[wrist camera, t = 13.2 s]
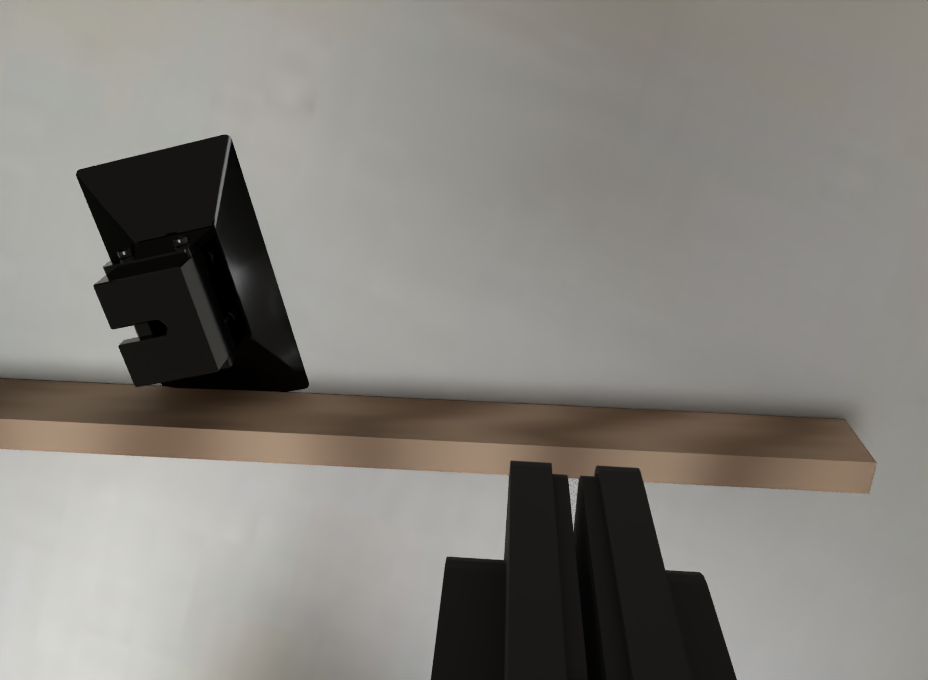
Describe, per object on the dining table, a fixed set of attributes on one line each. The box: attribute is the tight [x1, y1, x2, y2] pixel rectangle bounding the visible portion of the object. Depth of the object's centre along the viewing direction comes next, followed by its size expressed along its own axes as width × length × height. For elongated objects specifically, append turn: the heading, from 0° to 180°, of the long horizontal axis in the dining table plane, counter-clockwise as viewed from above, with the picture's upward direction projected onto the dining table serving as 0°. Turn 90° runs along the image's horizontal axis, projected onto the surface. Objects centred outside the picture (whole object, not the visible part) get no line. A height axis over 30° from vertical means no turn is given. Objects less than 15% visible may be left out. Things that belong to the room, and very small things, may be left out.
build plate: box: [76, 135, 309, 392], centre depth 29 cm, size 12×7×5 cm, turn 13°
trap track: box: [0, 378, 877, 493], centre depth 25 cm, size 33×26×5 cm
